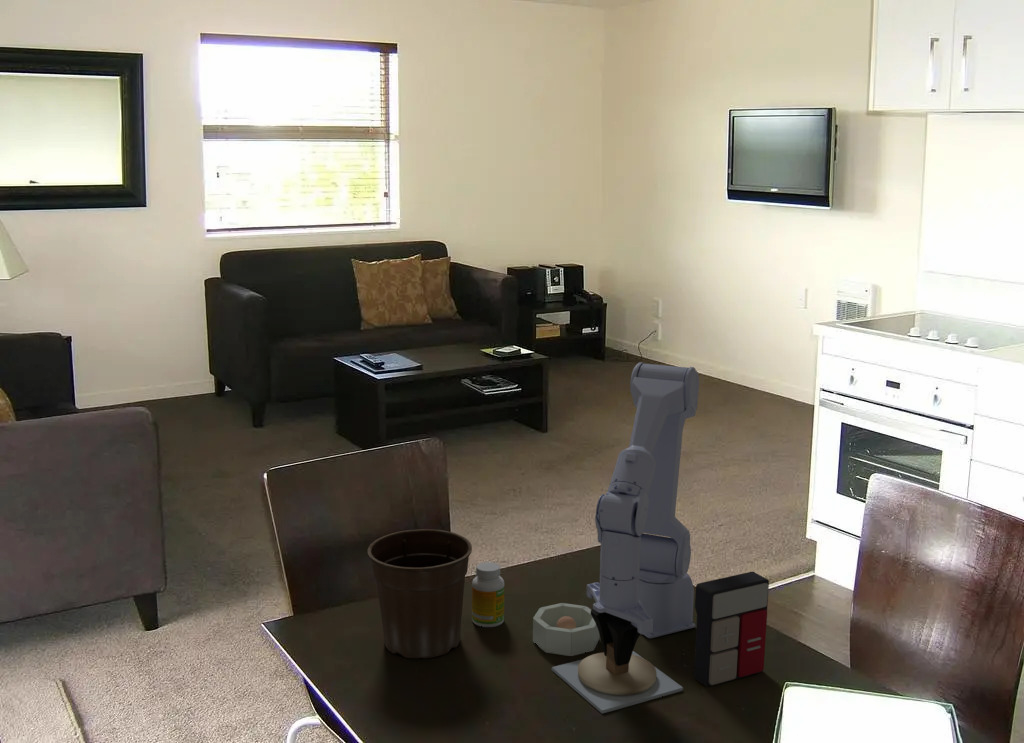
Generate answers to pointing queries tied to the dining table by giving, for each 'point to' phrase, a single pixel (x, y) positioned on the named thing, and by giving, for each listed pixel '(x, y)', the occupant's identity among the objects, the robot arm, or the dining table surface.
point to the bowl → (565, 630)
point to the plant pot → (420, 589)
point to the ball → (566, 623)
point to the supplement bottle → (488, 595)
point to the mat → (611, 701)
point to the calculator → (730, 627)
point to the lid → (616, 673)
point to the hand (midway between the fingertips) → (616, 659)
